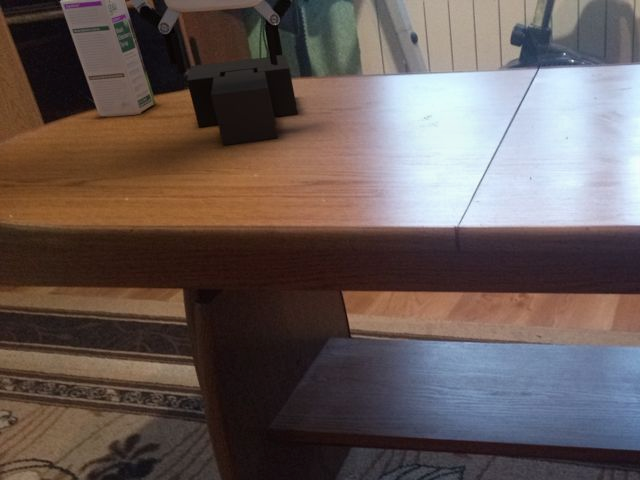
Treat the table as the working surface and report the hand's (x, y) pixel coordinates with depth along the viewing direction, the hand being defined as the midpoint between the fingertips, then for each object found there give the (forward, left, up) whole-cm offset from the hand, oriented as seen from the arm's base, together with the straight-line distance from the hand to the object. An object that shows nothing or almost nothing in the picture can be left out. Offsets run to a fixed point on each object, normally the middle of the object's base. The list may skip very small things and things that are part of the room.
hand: (229, 67), depth 80 cm
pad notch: (+1, +12, -8) cm, 15 cm away
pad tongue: (+1, +3, -8) cm, 8 cm away
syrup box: (-15, +22, -8) cm, 28 cm away
